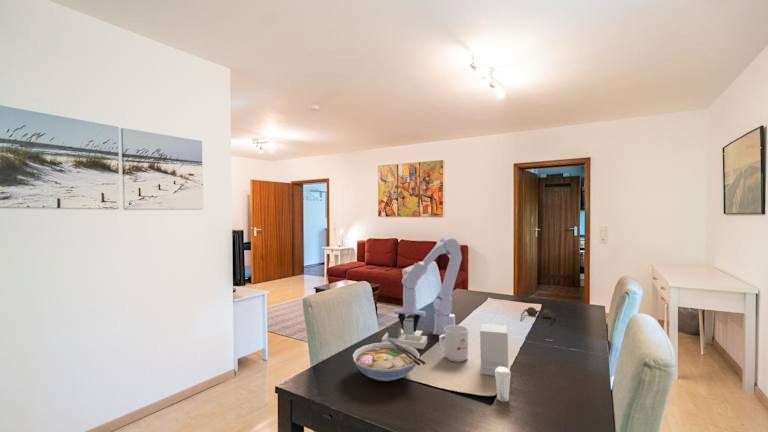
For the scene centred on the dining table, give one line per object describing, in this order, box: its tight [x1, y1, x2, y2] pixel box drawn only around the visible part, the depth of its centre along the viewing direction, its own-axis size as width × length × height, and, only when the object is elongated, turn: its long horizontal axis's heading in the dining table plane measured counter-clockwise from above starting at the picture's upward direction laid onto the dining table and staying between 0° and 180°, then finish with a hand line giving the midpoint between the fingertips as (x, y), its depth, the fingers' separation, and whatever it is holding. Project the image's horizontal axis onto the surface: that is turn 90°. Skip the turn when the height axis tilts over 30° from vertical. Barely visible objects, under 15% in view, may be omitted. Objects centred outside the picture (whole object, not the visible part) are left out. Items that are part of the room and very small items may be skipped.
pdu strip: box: [381, 324, 428, 350], centre depth 147 cm, size 18×8×7 cm, turn 72°
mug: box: [438, 324, 469, 363], centre depth 131 cm, size 12×9×11 cm
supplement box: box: [479, 323, 509, 377], centre depth 121 cm, size 9×9×15 cm
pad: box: [401, 328, 423, 336], centre depth 158 cm, size 10×10×1 cm
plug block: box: [403, 318, 415, 335], centre depth 158 cm, size 4×4×6 cm
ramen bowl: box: [352, 339, 426, 382], centre depth 117 cm, size 25×23×8 cm
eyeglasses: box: [520, 306, 555, 327], centre depth 178 cm, size 15×15×5 cm
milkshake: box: [493, 366, 512, 403], centre depth 102 cm, size 4×5×10 cm
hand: (409, 330), depth 158 cm, fingers closed on plug block, 4 cm apart
